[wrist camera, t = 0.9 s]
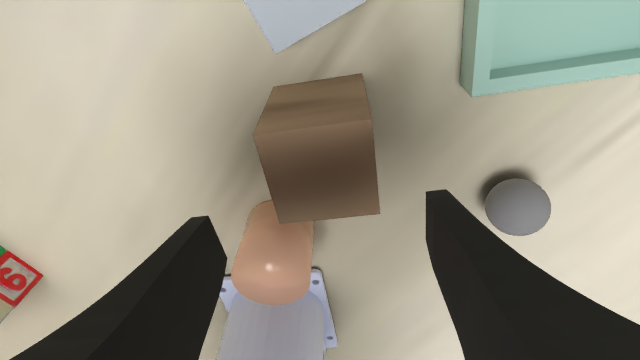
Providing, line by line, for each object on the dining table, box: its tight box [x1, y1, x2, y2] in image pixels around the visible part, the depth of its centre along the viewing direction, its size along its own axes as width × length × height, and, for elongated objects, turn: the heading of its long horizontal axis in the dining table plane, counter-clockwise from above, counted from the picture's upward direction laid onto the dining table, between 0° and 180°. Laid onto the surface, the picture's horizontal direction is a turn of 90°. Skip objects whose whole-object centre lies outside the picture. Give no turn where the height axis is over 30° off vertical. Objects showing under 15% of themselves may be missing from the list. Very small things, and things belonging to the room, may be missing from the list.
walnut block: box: [253, 74, 380, 224], centre depth 16 cm, size 4×4×6 cm
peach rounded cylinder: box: [231, 200, 314, 305], centre depth 21 cm, size 4×4×4 cm
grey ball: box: [485, 178, 551, 236], centre depth 19 cm, size 3×3×3 cm
